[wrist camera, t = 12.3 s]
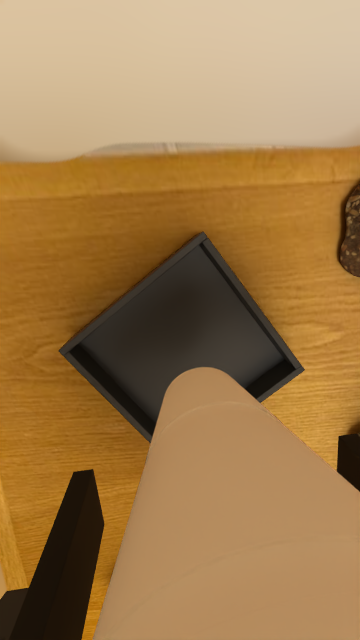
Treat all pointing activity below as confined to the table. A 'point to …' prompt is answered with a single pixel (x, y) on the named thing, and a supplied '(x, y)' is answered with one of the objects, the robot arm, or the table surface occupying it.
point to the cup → (234, 529)
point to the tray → (180, 336)
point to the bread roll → (352, 235)
